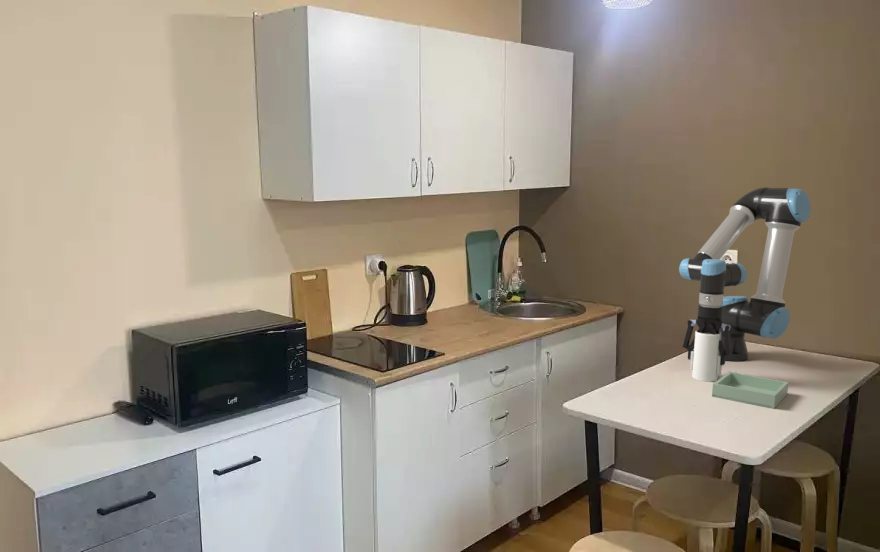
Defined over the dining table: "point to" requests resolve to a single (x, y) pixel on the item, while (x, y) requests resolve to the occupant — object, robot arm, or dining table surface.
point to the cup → (705, 357)
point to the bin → (750, 389)
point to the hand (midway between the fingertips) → (705, 371)
